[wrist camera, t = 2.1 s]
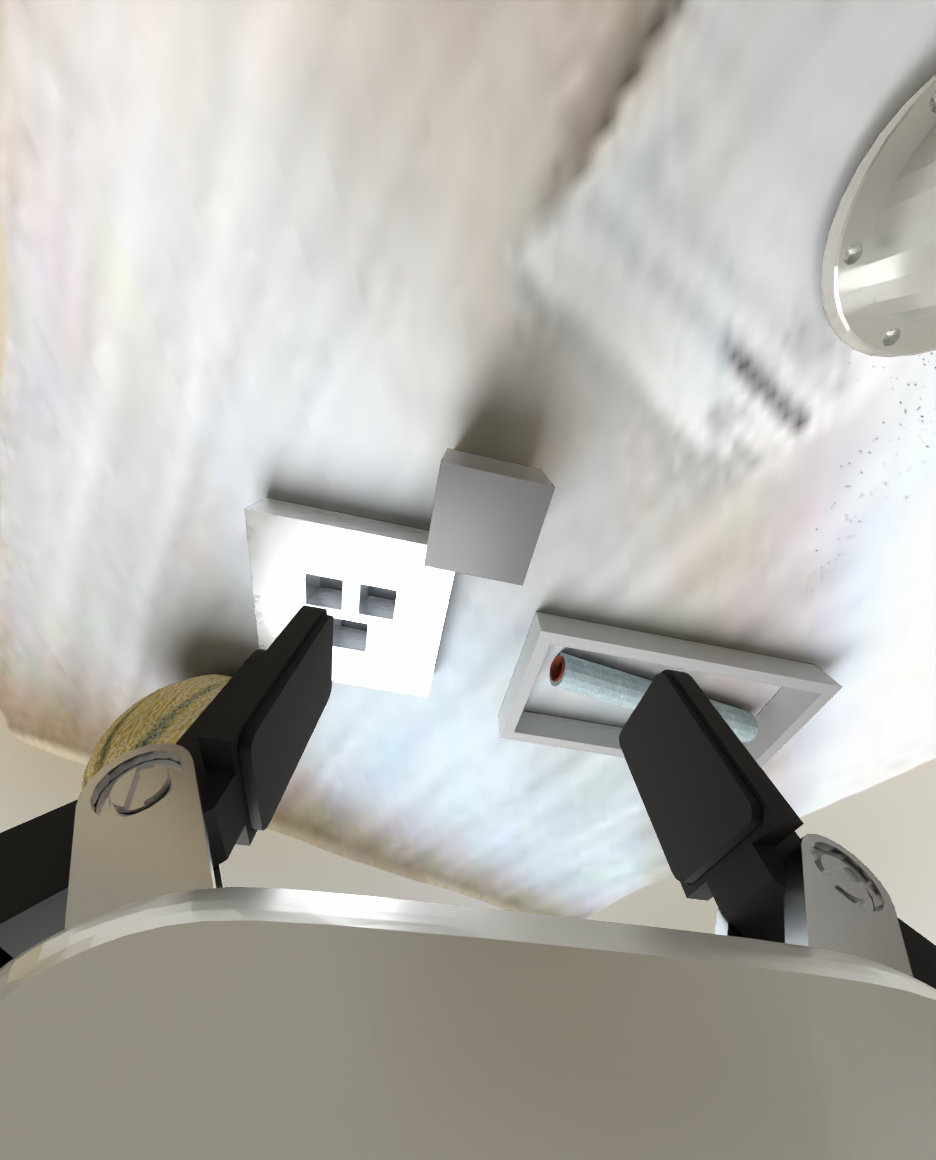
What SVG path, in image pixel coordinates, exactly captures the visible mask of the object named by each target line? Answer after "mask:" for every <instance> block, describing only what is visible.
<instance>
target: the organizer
mask: <svg viewBox="0 0 936 1160" xmlns="http://www.w3.org/2000/svg"><path fill="white" fill-rule="evenodd" d="M550 644H553V645H558V646H563V647H569V648H574V649H580V650H585V651H591V652H596V653H602V654H607V655H613V656H618V657H623V658H629V659H634V660H640V661H645V662H651V663H656V664H662V665H667V666H672V667H678V668H683V669H689V670H694V671H700V672H705V673H711V674H716V675H722V676H727V677H732V678H738V679H743V680H749V681H754V682H760V683H765V684H771V685H776V686H782V688H781V689H780V690H779V691H778V692H777V694H776V695H775V696H774V697H773V698H772V699H771V700H770V701H769V703H768V704H767V705H766V706H765V707H764V708H763V709H762V710H761V712H760V713H759V714H758V715H757V716H756V717H755V719H756V720H757V723H758V732H757V735H756V737H755V738H754V739H753V740H751V741H749V742H742V744H743V745H744V746H745V748H746V749H747V750H748V752H749V753H750V754H751V755H752V757H753V758H754V759H755V761H756V762H757V763H758V765H759V766H760V767H762V766H763V765H764V764H765V763H766V762H767V761H768V760H769V759H770V758H771V757H772V756H773V755H774V754H775V753H776V752H777V751H778V750H779V749H780V748H781V747H782V746H783V745H784V744H785V743H786V742H787V741H788V740H789V739H790V738H792V737H793V736H794V735H795V734H796V733H797V732H798V731H799V730H800V729H801V728H802V727H803V726H804V725H805V724H806V723H807V722H808V721H809V720H810V719H811V718H812V717H813V716H814V715H815V714H816V713H817V712H818V711H819V710H820V709H821V708H822V707H823V706H824V705H825V704H826V703H827V702H828V701H829V700H830V699H831V698H832V697H833V696H834V695H835V694H836V693H837V692H838V691H839V690H840V689H841V688H842V686H841V685H839V684H838V683H837V682H836V681H834V680H833V679H832V678H831V677H829V676H828V675H827V674H826V673H824V672H823V671H822V670H821V669H820V668H818V667H817V666H816V665H814V664H809V663H803V662H798V661H793V660H788V659H782V658H777V657H772V656H767V655H761V654H756V653H751V652H746V651H740V650H735V649H730V648H725V647H719V646H714V645H709V644H704V643H698V642H693V641H688V640H683V639H677V638H672V637H667V636H662V635H656V634H651V633H646V632H641V631H635V630H630V629H625V628H620V627H614V626H609V625H604V624H599V623H593V622H588V621H583V620H578V619H572V618H567V617H562V616H557V615H551V614H546V613H541V612H536V613H535V616H534V619H533V622H532V624H531V627H530V630H529V632H528V635H527V638H526V641H525V643H524V646H523V649H522V652H521V654H520V657H519V660H518V662H517V665H516V668H515V671H514V673H513V676H512V679H511V682H510V684H509V687H508V690H507V692H506V695H505V698H504V701H503V703H502V706H501V709H500V712H499V714H498V716H499V731H500V738H505V739H511V740H517V741H524V742H530V743H536V744H543V745H549V746H555V747H561V748H568V749H574V750H580V751H587V752H593V753H599V754H605V755H612V756H618V757H624V754H623V752H622V749H621V747H620V744H619V735H620V732H621V730H622V729H623V728H622V727H616V726H610V725H604V724H598V723H592V722H586V721H580V720H574V719H568V718H562V717H556V716H550V715H544V714H538V713H532V712H526V711H523V709H524V706H525V704H526V702H527V699H528V697H529V694H530V692H531V690H532V687H533V685H534V682H535V680H536V677H537V675H538V673H539V670H540V668H541V665H542V663H543V660H544V658H545V656H546V653H547V651H548V648H549V646H550ZM624 758H625V757H624Z"/></svg>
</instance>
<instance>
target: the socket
mask: <svg viewBox="0 0 936 1160" xmlns="http://www.w3.org/2000/svg"><path fill="white" fill-rule="evenodd" d="M244 510H245V519H246V529H247V538H248V548H249V557H250V567H251V576H252V586H253V596H254V605H255V615H256V624H257V634H258V643H259V649H264V650H267V649H268V648H269V646H270V645H271V644H272V643H273V642H274V640H275V639H276V638H277V637H278V635H279V634H280V633H281V632H282V630H283V629H284V628H285V627H286V625H287V624H288V623H289V622H290V620H291V619H292V618H293V617H294V616H295V614H296V613H297V612H298V611H299V609H300V608H301V607H302V606H304V605H307V606H313V607H318V608H324V609H326V610H327V615H332V616H333V657H332V681H333V682H339V683H345V684H351V685H357V686H363V687H369V688H375V689H381V690H387V691H393V692H399V693H405V694H411V695H417V696H423V697H428V694H429V689H430V685H431V680H432V675H433V671H434V666H435V662H436V657H437V652H438V648H439V643H440V638H441V634H442V629H443V624H444V620H445V615H446V611H447V606H448V601H449V597H450V592H451V587H452V583H453V578H454V574H455V572H451V571H446V570H441V569H436V568H431V567H426V566H424V561H425V554H426V548H427V542H428V536H429V531H427V530H422V529H417V528H413V527H408V526H403V525H398V524H393V523H388V522H383V521H378V520H373V519H369V518H364V517H359V516H354V515H349V514H344V513H339V512H334V511H329V510H325V509H320V508H315V507H310V506H305V505H300V504H295V503H290V502H285V501H281V500H276V499H271V498H264V499H263V500H261V501H259V502H257V503H255V504H253V505H251V506H249V507H247V508H245V509H244ZM320 576H322V577H327V578H332V579H338V580H343V591H341V590H336V589H330V588H325V587H320ZM369 586H375V587H380V588H385V589H391V590H396V591H397V595H396V601H395V600H389V599H384V598H379V597H373V596H368V589H369ZM342 619H343V620H348V621H354V622H360V623H365V624H368V631H366V630H361V629H355V628H349V627H344V626H342Z"/></svg>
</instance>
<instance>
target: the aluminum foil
mask: <svg viewBox="0 0 936 1160" xmlns="http://www.w3.org/2000/svg"><path fill="white" fill-rule="evenodd" d="M550 681H551V684H552V685H553V686H555V687H559V688H562V689H565V690H569V691H572V692H576V693H579V694H582V695H586V696H589V697H592V698H596V699H599V700H602V701H606V702H609V703H612V704H616V705H619V706H622V707H626V708H629V709H632V710H635V708H636V706H637V705H638V703H639V702H640V700H641V698H642V697H643V695H644V694H645V692H646V691H647V689H648V687H649V686H650V684H651V683H652V681H651V680H648V679H644V678H641V677H638V676H635V675H632V674H629V673H625V672H622V671H619V670H616V669H613V668H610V667H606V666H603V665H600V664H597V663H594V662H591V661H587V660H584V659H581V658H578V657H575V656H572V655H568V654H565V653H562V652H561V653H560V654H559V656H556V657H555V659H554V660H553V662H552V664H551V668H550ZM709 700H710V702H711V703H712V704H713V706H714V707H715V708H716V710H717V711H718V712H719V714H720V715H721V716H722V717H723V719H724V720H725V721H726V723H727V724H728V725H729V727H730V728H731V729H732V731H733V732H734V733H735V734H736V736H737V737H738V738H739V740H740V741H741V742H749V741H751V740H753V739H754V738H755V737H756V735H757V732H758V723H757V720H756V719H755V717H754V716H753V715H752V714H751V713H750V712H749V711H746V710H743V709H739V708H736V707H733V706H730V705H727V704H724V703H720V702H717V701H714V700H711V699H709Z"/></svg>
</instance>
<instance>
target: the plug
mask: <svg viewBox="0 0 936 1160" xmlns="http://www.w3.org/2000/svg"><path fill="white" fill-rule="evenodd" d="M554 489H555V486H554V485H553V484H552V483H551V481H550V480H549V479H548V478H547V477H546V475H545V474H544V473H543V472H542V470H541V469H538V468H534V467H529V466H525V465H520V464H516V463H511V462H507V461H502V460H498V459H494V458H489V457H485V456H480V455H476V454H471V453H467V452H462V451H458V450H453V449H449V448H448V449H447V451H446V452H445V454H444V456H443V458H442V460H441V464H440V470H439V476H438V482H437V488H436V494H435V500H434V506H433V512H432V518H431V524H430V530H429V536H428V542H427V548H426V554H425V561H424V566H426V567H431V568H436V569H441V570H446V571H451V572H457V573H462V574H467V575H472V576H477V577H482V578H487V579H492V580H497V581H502V582H507V583H513V584H518V585H523V583H524V580H525V577H526V574H527V570H528V567H529V564H530V561H531V558H532V555H533V552H534V549H535V546H536V543H537V540H538V537H539V534H540V531H541V528H542V525H543V522H544V519H545V516H546V513H547V510H548V507H549V504H550V501H551V498H552V495H553V492H554Z"/></svg>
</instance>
